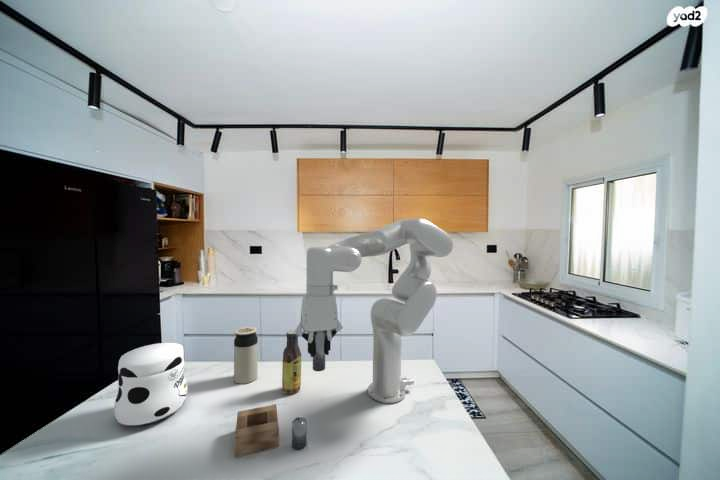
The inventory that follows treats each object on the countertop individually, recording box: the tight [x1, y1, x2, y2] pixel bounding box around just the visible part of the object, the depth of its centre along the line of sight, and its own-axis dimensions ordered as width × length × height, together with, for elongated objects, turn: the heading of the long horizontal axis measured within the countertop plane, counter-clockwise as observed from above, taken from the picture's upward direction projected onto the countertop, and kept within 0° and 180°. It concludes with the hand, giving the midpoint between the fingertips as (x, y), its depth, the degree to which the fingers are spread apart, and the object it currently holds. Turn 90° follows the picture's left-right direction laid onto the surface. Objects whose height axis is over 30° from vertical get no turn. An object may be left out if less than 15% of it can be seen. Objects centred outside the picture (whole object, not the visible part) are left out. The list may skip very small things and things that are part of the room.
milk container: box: [113, 342, 189, 427], centre depth 83 cm, size 17×17×18 cm
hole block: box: [234, 404, 280, 458], centre depth 73 cm, size 10×10×5 cm
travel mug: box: [233, 326, 259, 385], centre depth 103 cm, size 8×8×18 cm
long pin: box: [312, 331, 326, 372], centre depth 80 cm, size 4×4×12 cm
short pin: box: [291, 416, 308, 451], centre depth 71 cm, size 4×4×6 cm
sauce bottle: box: [281, 329, 302, 395], centre depth 95 cm, size 6×6×20 cm
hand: (319, 353), depth 80 cm, fingers closed on long pin, 3 cm apart
